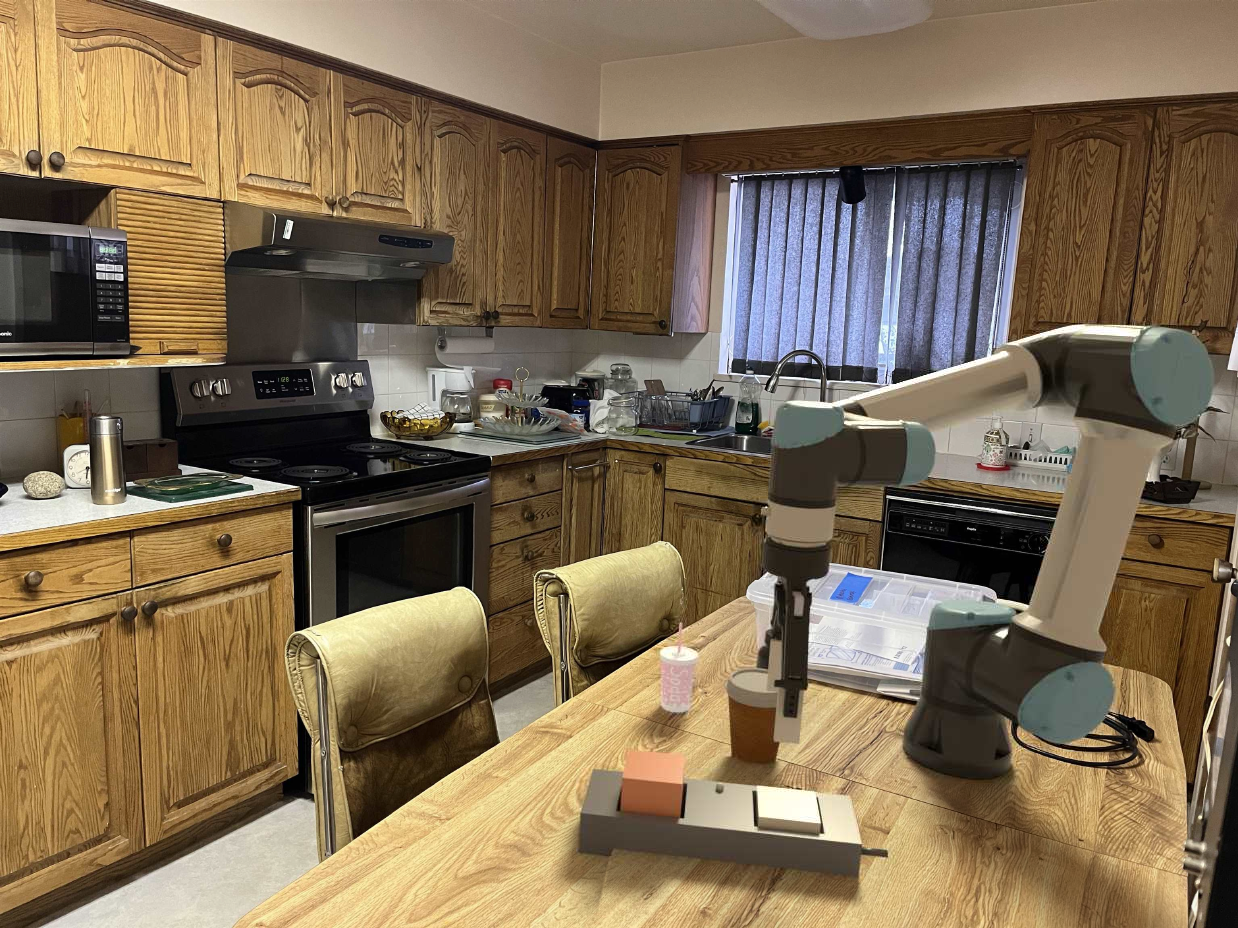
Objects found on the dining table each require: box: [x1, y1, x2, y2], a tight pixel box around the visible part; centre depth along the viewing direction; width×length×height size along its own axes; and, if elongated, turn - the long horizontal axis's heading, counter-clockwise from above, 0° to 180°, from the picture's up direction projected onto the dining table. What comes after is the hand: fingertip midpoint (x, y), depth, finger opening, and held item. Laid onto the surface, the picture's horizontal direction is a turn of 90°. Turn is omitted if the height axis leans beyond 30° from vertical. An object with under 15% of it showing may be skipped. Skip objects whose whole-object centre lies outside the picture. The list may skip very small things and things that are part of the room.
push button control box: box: [578, 768, 889, 878], centre depth 110 cm, size 36×10×6 cm, turn 83°
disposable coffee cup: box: [724, 667, 781, 765], centre depth 131 cm, size 10×10×12 cm
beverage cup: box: [659, 622, 699, 713], centre depth 146 cm, size 6×6×14 cm
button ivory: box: [754, 785, 821, 834], centre depth 109 cm, size 7×7×5 cm
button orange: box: [620, 749, 686, 818], centre depth 110 cm, size 7×7×5 cm
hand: (781, 714), depth 108 cm, fingers open, 13 cm apart
